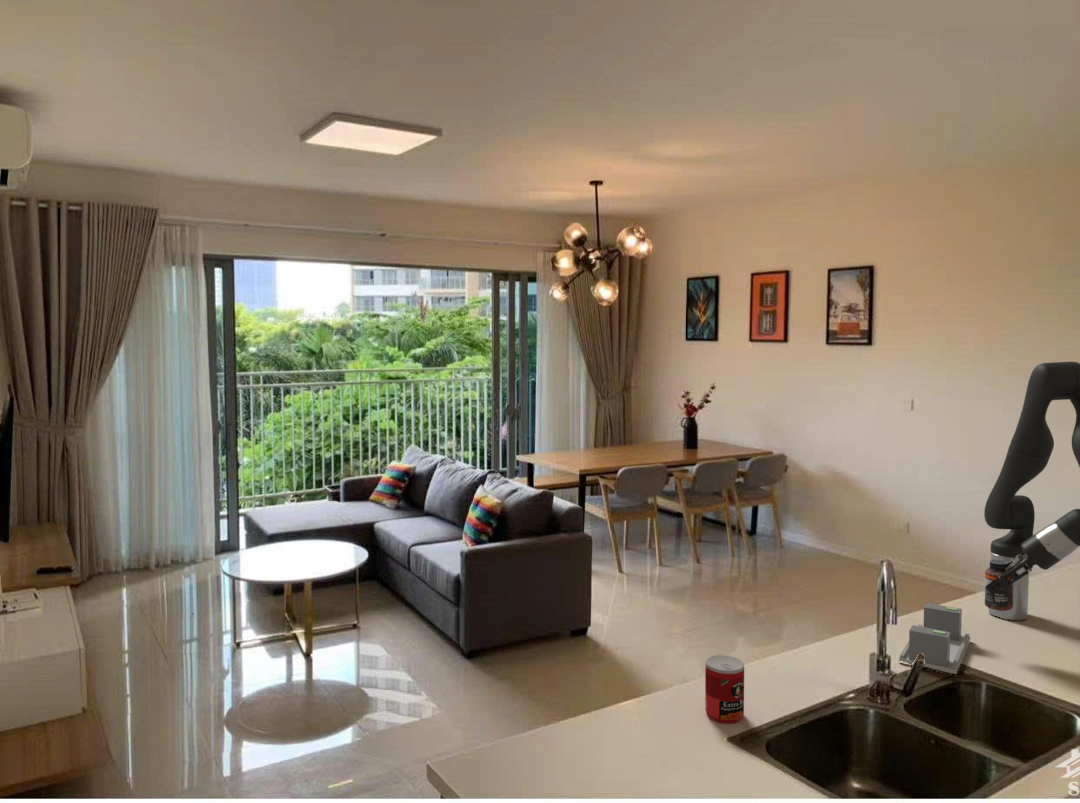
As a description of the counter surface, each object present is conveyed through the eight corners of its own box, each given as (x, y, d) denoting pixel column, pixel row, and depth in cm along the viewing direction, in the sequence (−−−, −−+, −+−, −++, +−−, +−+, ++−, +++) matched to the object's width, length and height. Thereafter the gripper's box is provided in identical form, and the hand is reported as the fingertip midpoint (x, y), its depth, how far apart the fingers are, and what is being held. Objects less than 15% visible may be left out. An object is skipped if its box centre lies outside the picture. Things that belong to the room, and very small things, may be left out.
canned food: (722, 727, 154) (723, 673, 153) (697, 711, 161) (697, 659, 160) (752, 718, 157) (753, 665, 156) (725, 702, 164) (726, 652, 163)
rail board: (917, 631, 203) (918, 599, 202) (970, 641, 196) (971, 608, 195) (898, 663, 183) (899, 627, 183) (956, 675, 176) (957, 638, 176)
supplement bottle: (1005, 603, 191) (1006, 558, 190) (1017, 611, 185) (1019, 565, 184) (979, 603, 191) (980, 557, 191) (991, 611, 186) (992, 564, 185)
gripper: (1038, 526, 188) (981, 567, 196) (1035, 539, 177) (974, 582, 184) (1064, 551, 186) (1005, 591, 193) (1062, 565, 174) (999, 608, 182)
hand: (990, 586), depth 189 cm, fingers closed on supplement bottle, 6 cm apart
